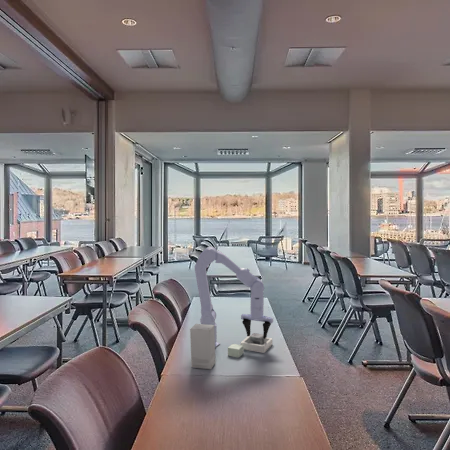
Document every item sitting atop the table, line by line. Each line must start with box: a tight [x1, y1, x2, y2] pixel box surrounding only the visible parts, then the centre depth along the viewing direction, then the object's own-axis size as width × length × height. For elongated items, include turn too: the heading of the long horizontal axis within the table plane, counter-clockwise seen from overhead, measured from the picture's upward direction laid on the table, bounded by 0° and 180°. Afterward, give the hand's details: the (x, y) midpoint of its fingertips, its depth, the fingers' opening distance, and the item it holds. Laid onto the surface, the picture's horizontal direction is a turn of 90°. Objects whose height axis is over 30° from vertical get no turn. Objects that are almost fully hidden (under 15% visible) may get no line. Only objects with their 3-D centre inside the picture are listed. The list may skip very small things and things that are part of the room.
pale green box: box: [227, 343, 244, 358], centre depth 158 cm, size 5×5×4 cm
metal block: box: [250, 332, 264, 345], centre depth 167 cm, size 5×5×4 cm
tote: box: [240, 334, 273, 354], centre depth 167 cm, size 11×11×3 cm
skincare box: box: [189, 323, 216, 370], centre depth 147 cm, size 8×7×16 cm
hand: (256, 336), depth 167 cm, fingers open, 7 cm apart
